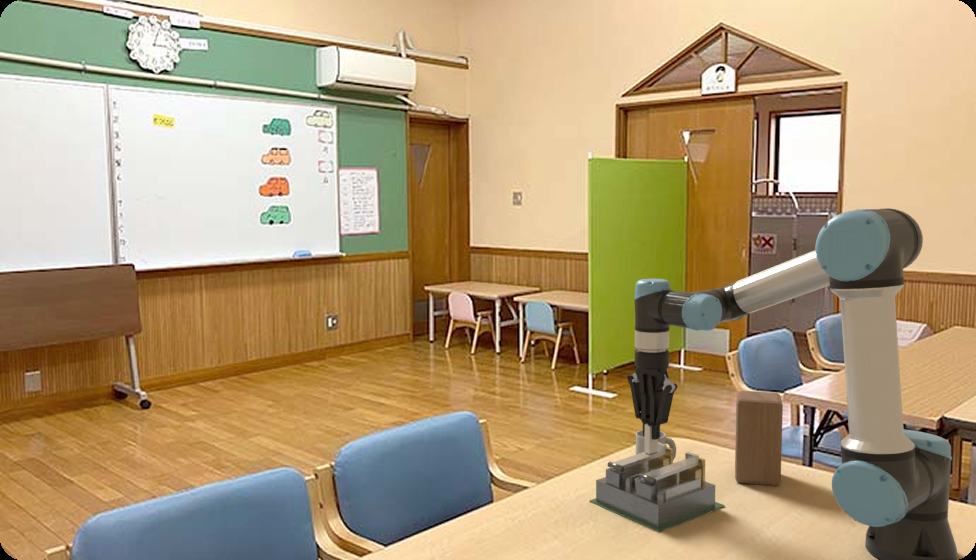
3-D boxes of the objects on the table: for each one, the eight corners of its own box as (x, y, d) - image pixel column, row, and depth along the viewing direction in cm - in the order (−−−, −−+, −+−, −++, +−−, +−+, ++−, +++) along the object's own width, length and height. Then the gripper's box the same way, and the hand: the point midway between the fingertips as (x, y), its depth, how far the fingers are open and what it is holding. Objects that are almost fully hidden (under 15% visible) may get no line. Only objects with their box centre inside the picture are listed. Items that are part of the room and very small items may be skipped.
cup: (632, 464, 198) (632, 430, 197) (672, 463, 199) (672, 428, 198) (639, 474, 191) (639, 439, 190) (680, 473, 191) (680, 437, 190)
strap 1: (700, 466, 171) (700, 455, 171) (651, 484, 162) (651, 473, 162) (686, 461, 174) (686, 451, 174) (638, 479, 165) (638, 468, 165)
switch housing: (724, 506, 171) (725, 460, 170) (658, 532, 159) (659, 483, 158) (654, 480, 187) (655, 438, 186) (589, 501, 175) (589, 456, 174)
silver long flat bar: (668, 455, 178) (668, 445, 178) (620, 472, 169) (619, 461, 169) (655, 451, 181) (655, 441, 181) (607, 467, 172) (607, 456, 172)
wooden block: (735, 483, 184) (736, 399, 182) (734, 469, 194) (736, 389, 192) (780, 487, 181) (783, 402, 179) (778, 472, 191) (780, 391, 189)
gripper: (686, 351, 172) (685, 456, 175) (641, 342, 182) (641, 441, 185) (662, 356, 167) (661, 463, 170) (618, 346, 178) (618, 447, 181)
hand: (651, 451), depth 178 cm, fingers closed
